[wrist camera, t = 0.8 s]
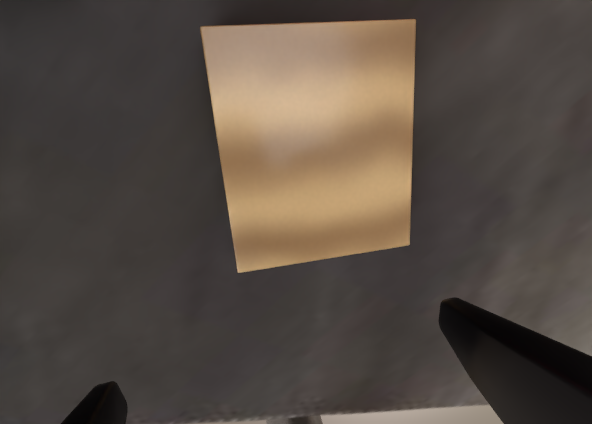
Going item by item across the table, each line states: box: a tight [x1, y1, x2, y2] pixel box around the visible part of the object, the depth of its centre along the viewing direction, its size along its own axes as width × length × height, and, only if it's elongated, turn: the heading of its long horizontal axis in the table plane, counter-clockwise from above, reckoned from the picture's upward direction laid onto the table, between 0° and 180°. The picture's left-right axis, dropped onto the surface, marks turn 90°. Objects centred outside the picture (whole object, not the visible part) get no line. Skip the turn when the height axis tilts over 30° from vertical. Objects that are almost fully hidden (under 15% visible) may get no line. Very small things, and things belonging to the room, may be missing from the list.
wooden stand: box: [200, 19, 416, 273], centre depth 20 cm, size 14×12×3 cm
